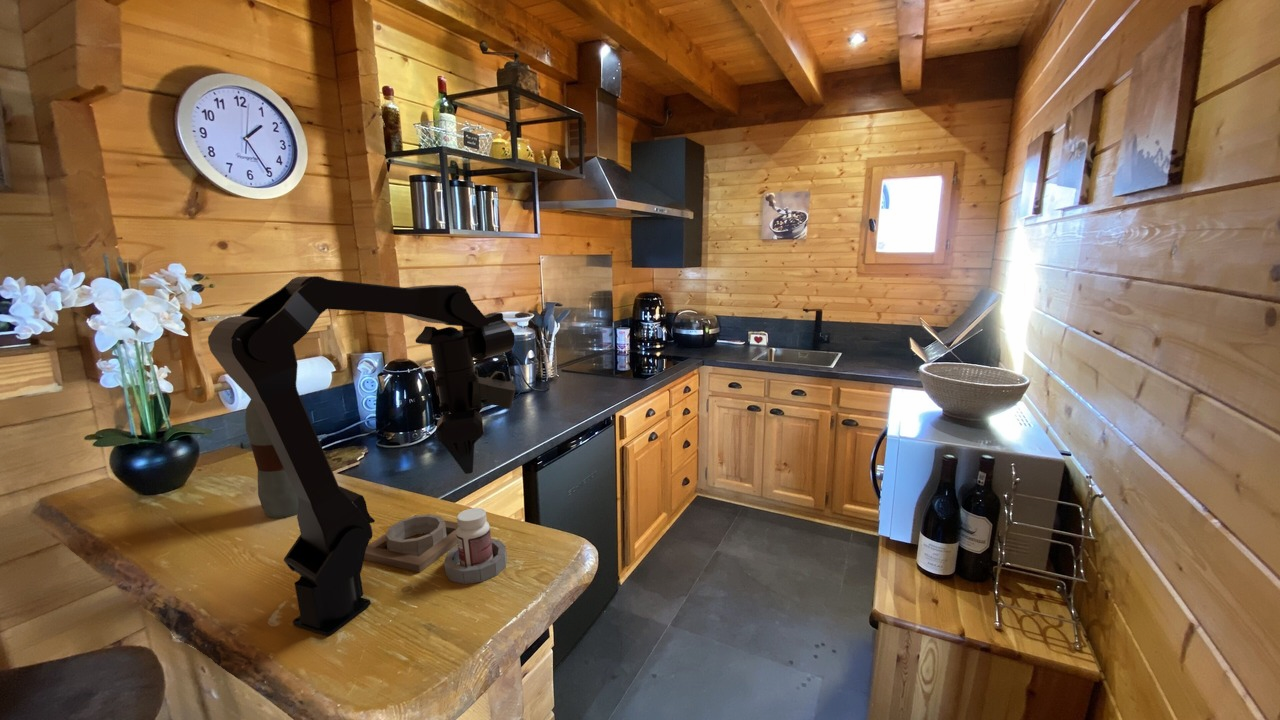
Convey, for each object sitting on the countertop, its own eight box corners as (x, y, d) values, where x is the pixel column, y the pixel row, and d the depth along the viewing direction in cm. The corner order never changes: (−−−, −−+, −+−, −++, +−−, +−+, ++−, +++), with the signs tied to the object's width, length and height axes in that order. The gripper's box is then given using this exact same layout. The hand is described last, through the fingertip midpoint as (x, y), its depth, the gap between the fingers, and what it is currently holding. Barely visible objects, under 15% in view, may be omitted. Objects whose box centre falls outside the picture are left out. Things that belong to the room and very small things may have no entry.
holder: (482, 588, 73) (481, 575, 72) (433, 577, 76) (432, 564, 75) (517, 555, 81) (516, 543, 80) (471, 546, 84) (470, 534, 83)
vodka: (329, 503, 100) (304, 348, 94) (275, 524, 93) (245, 357, 87) (305, 492, 105) (280, 344, 99) (252, 511, 98) (222, 353, 92)
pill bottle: (498, 557, 80) (493, 506, 79) (486, 576, 76) (480, 522, 74) (468, 556, 81) (462, 506, 79) (454, 575, 76) (448, 521, 74)
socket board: (419, 572, 77) (417, 553, 76) (358, 558, 81) (355, 540, 81) (472, 532, 88) (471, 515, 87) (416, 521, 92) (414, 505, 92)
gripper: (512, 374, 74) (525, 476, 78) (505, 348, 91) (516, 432, 95) (428, 386, 71) (446, 491, 75) (437, 357, 88) (451, 443, 92)
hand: (469, 461), depth 84 cm, fingers open, 9 cm apart
